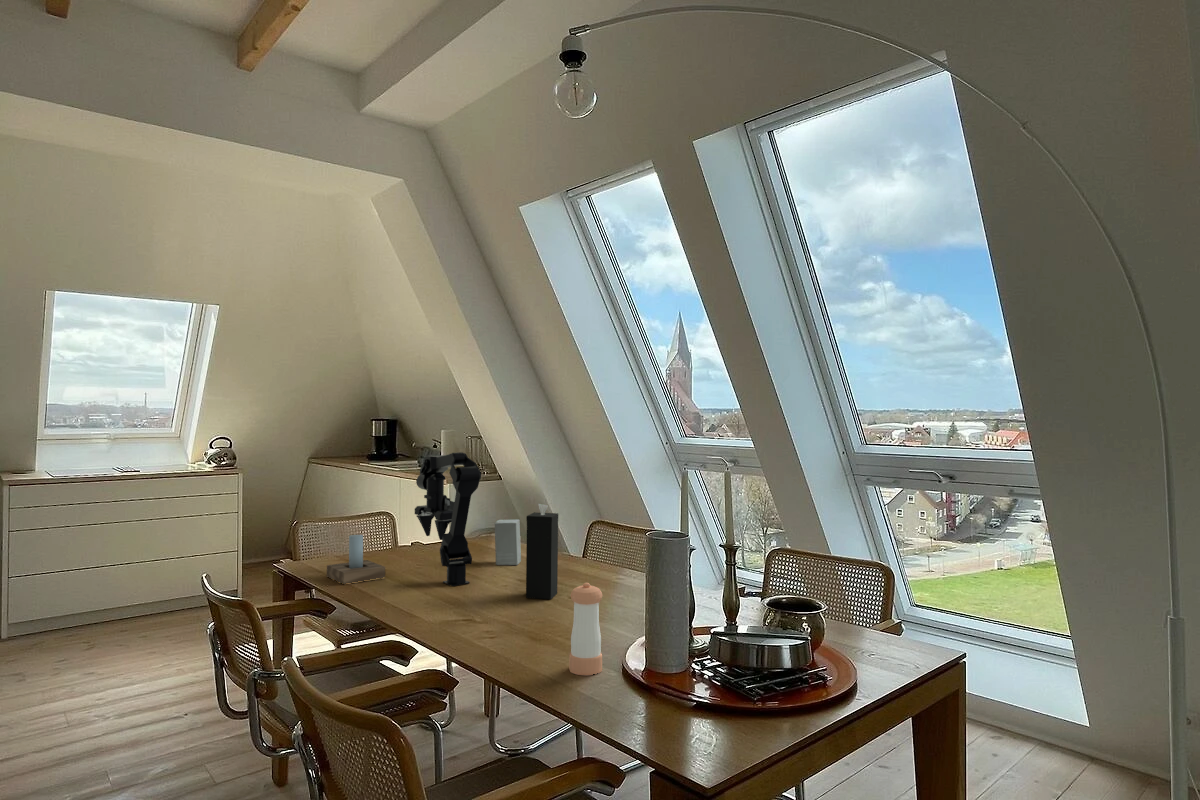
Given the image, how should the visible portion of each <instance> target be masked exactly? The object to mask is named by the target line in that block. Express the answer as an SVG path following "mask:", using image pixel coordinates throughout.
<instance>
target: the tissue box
mask: <svg viewBox="0 0 1200 800" xmlns="http://www.w3.org/2000/svg"><path fill="white" fill-rule="evenodd" d="M537 504H538V509H539V512H533V513H530V514H527V515H526V549H525V550H526V551H525V552H526V558H525V560H526V563H525V564H526V566H525V568H526V570H525V598H528V599H539V600H552V599H553V598H554V597H556V595H557V594H558V571H559V569H558V565H559V564H558V563H559V561H558V560H559V559H558V557H559V556H558V554H559V553H558V552H559V513H558V512H556V513H555V512H546V511H547V509H548V507H549V505H547V504H543V503H542V504H541V503H537Z"/></svg>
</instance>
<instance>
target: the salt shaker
mask: <svg viewBox="0 0 1200 800" xmlns="http://www.w3.org/2000/svg"><path fill="white" fill-rule="evenodd" d="M602 598H603V592H602V591H601V589H600V588H599V587H597V586H595V585H591V584H590V583H589V582H584V583H583V584H582V585H578V586H576V587H574V588H573V589H572V591H571V592H570V599H571V601H572V602H573V623H572V624H573V625H572V630H571V635H570V650H571V651H570V652H569V655H568V658H569V659H568V660H569V663H568V664H569V665H568V666H569V672H570V673H571V674H575V675H577V676H578V675H579V676H594V675H593V674H595V675H598V674H601V672H602V671H603V654H602V651H601V649H602V648H601V647H602V636H601V635H602V634H601V628H600V621H599V619H600V618H599V617H600V615H599V612H600V611H599V607H600V602H601V601H602ZM597 673H598V674H597Z"/></svg>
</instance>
